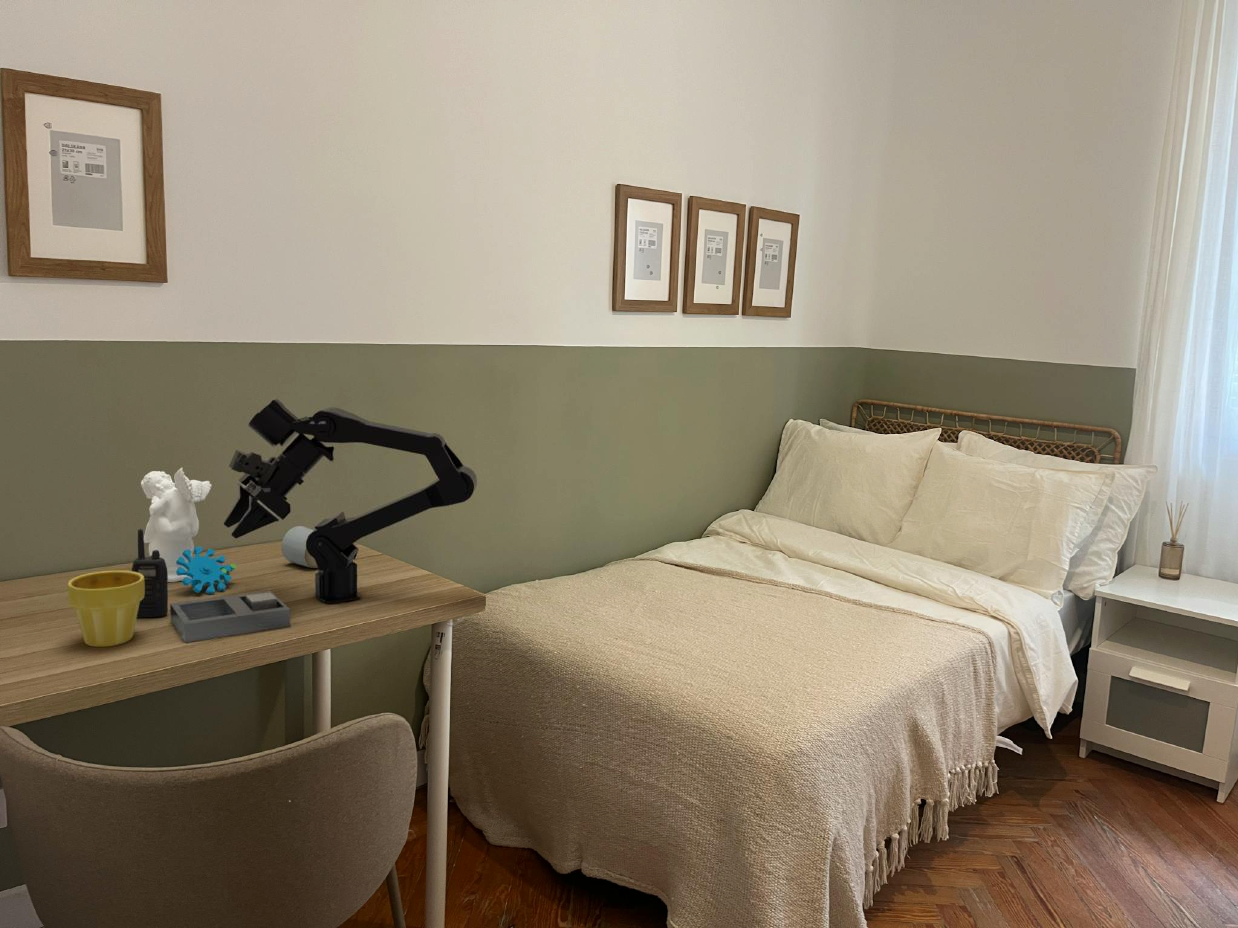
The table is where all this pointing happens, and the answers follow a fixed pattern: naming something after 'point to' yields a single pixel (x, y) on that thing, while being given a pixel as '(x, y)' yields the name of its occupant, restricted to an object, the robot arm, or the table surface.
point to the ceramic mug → (297, 547)
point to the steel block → (261, 601)
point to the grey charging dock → (225, 617)
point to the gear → (204, 570)
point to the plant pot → (106, 605)
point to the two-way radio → (152, 581)
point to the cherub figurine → (172, 516)
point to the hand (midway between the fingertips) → (229, 531)
